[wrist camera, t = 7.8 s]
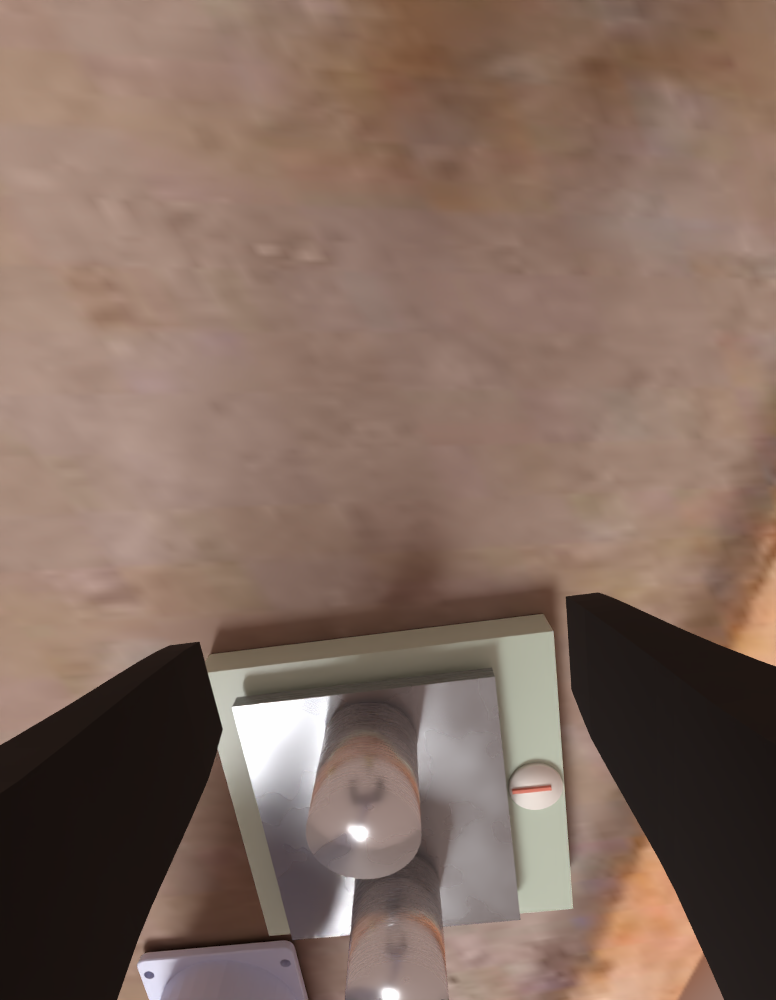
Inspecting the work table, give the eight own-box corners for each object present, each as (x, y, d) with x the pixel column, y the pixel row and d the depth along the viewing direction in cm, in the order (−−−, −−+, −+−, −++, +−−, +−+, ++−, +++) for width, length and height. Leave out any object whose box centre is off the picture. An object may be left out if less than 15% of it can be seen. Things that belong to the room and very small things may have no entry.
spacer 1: (425, 770, 20) (433, 868, 16) (337, 787, 20) (323, 887, 16) (404, 692, 19) (406, 776, 15) (312, 712, 19) (291, 799, 15)
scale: (563, 878, 24) (575, 915, 23) (276, 905, 25) (267, 943, 23) (543, 613, 21) (556, 635, 19) (210, 654, 21) (194, 678, 20)
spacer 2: (444, 913, 22) (454, 1032, 18) (361, 921, 22) (354, 1040, 18) (434, 848, 21) (442, 958, 17) (347, 857, 21) (336, 967, 17)
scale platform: (512, 884, 23) (520, 919, 22) (298, 904, 24) (292, 940, 22) (487, 653, 20) (494, 676, 19) (243, 682, 21) (231, 707, 19)
